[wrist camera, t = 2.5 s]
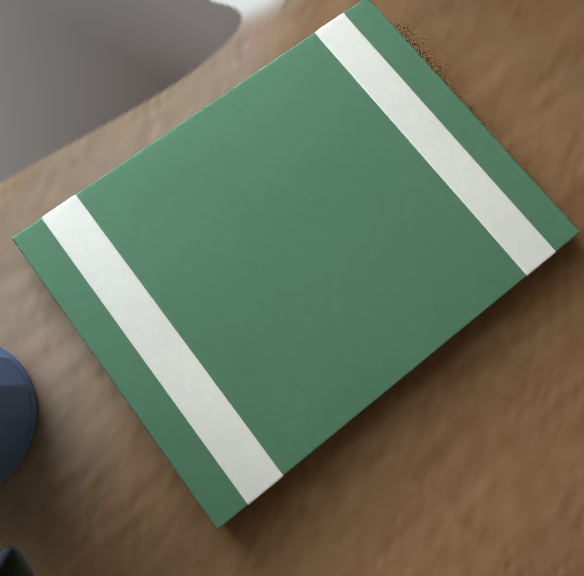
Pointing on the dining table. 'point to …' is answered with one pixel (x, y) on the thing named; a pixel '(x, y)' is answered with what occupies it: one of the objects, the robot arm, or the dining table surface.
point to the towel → (292, 254)
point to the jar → (15, 414)
